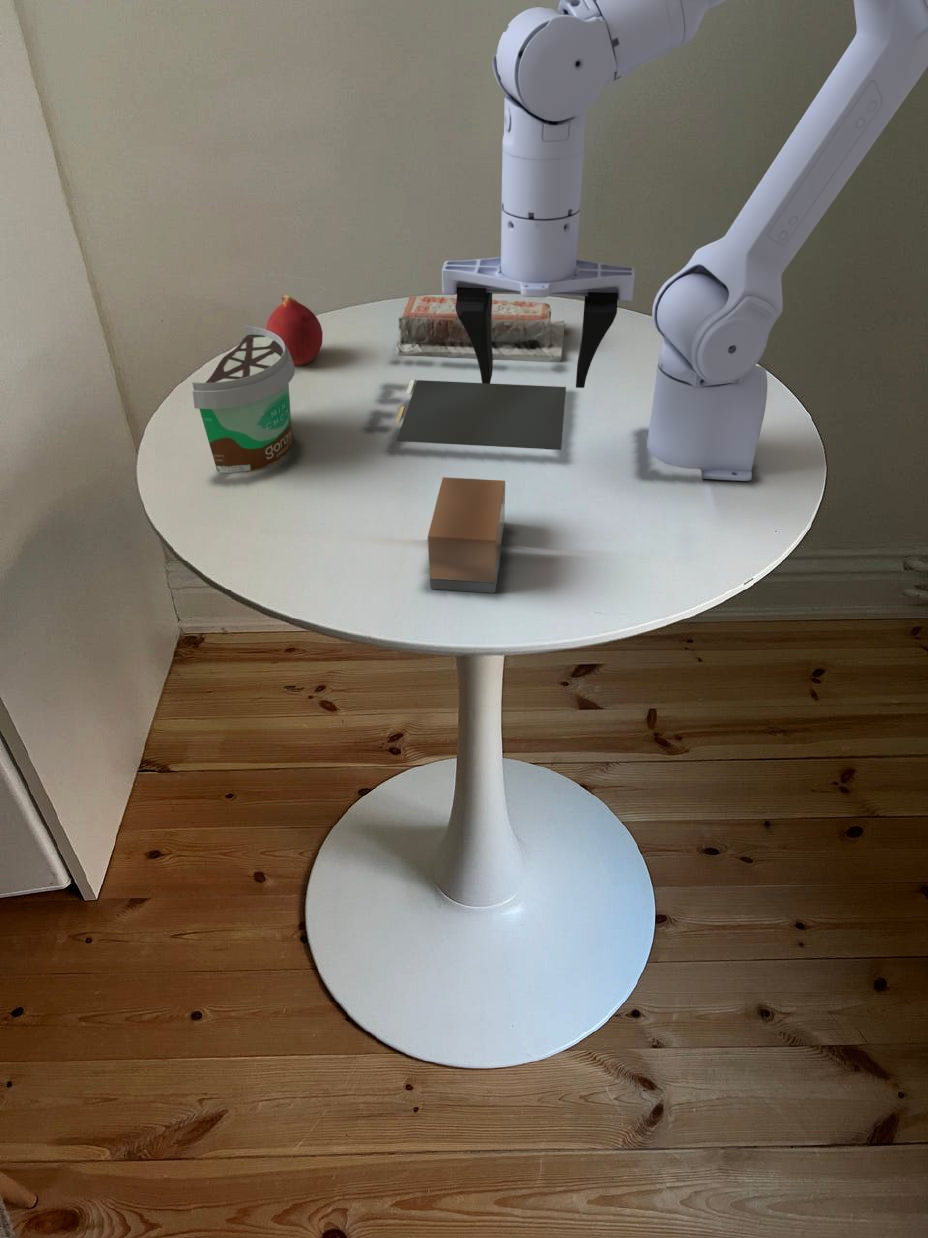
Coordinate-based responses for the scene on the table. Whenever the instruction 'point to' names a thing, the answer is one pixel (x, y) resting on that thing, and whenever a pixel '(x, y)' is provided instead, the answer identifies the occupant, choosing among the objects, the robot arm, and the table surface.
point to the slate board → (484, 415)
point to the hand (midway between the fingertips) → (533, 380)
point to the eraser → (467, 535)
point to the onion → (297, 330)
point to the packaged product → (513, 331)
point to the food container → (248, 403)
